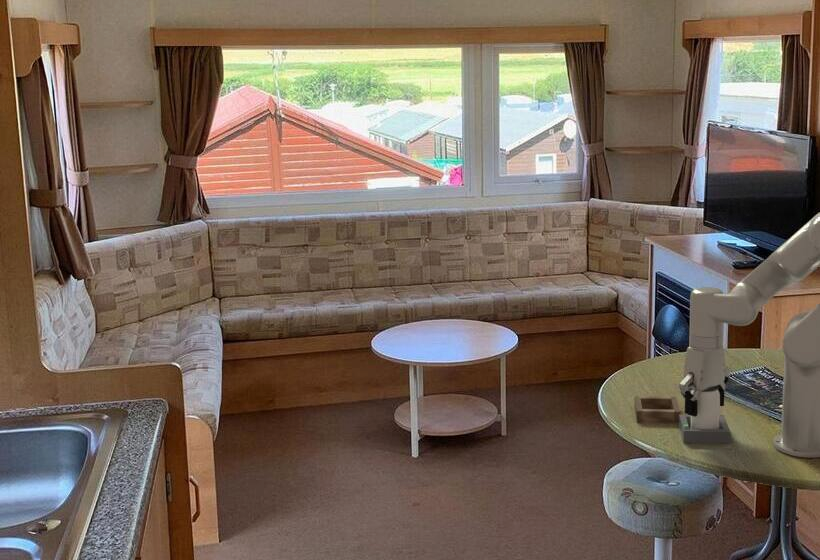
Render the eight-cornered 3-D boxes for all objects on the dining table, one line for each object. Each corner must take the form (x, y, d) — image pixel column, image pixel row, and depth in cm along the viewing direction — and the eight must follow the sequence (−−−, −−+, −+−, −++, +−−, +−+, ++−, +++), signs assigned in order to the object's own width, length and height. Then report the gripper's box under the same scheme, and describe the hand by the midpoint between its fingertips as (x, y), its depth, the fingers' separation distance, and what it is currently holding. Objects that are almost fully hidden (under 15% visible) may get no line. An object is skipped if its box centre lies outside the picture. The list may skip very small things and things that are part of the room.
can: (700, 442, 221) (701, 393, 218) (685, 432, 227) (685, 384, 224) (724, 437, 223) (725, 389, 220) (708, 427, 229) (709, 381, 226)
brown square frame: (676, 407, 242) (676, 396, 242) (680, 423, 232) (680, 411, 232) (634, 407, 244) (634, 396, 244) (636, 422, 234) (636, 411, 234)
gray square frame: (723, 426, 229) (723, 412, 228) (729, 444, 219) (730, 429, 218) (679, 425, 231) (679, 411, 230) (683, 442, 221) (683, 428, 220)
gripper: (716, 329, 227) (714, 396, 231) (668, 344, 218) (667, 414, 222) (743, 336, 221) (740, 405, 225) (695, 352, 212) (693, 423, 216)
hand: (704, 409), depth 224 cm, fingers open, 9 cm apart
